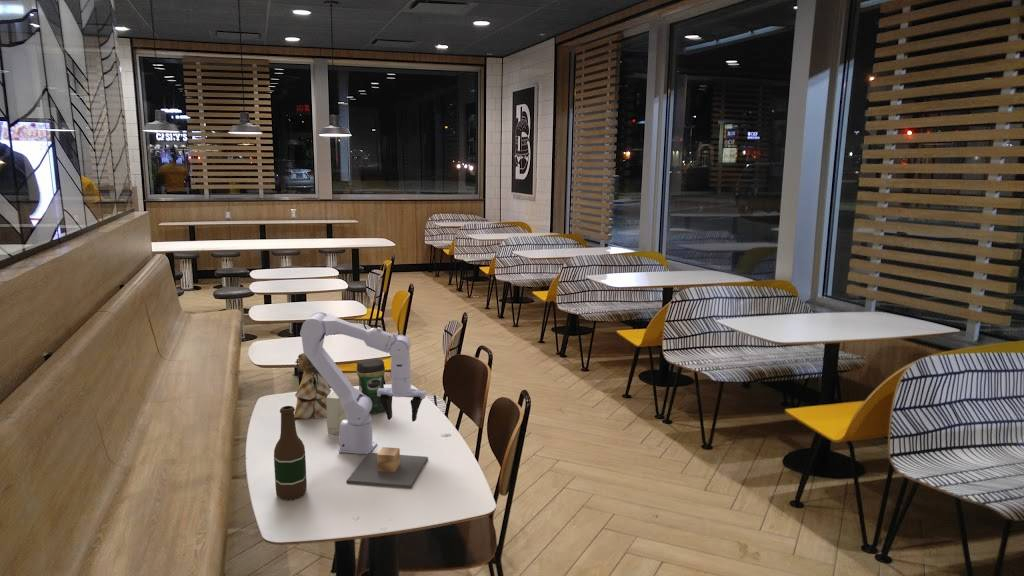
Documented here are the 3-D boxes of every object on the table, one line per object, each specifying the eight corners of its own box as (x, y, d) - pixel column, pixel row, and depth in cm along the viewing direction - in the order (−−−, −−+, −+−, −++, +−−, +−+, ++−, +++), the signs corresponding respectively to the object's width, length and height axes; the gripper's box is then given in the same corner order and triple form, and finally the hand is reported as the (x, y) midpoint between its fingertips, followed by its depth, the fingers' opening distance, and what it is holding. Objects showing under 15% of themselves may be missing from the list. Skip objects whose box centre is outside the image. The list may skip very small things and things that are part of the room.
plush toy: (348, 406, 239) (330, 338, 235) (328, 421, 226) (309, 350, 222) (313, 410, 243) (295, 344, 239) (292, 426, 230) (272, 356, 226)
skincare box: (339, 435, 217) (338, 398, 215) (326, 433, 218) (325, 397, 216) (348, 427, 223) (347, 392, 221) (335, 426, 224) (334, 391, 222)
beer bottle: (274, 489, 181) (270, 404, 176) (305, 484, 184) (301, 400, 180) (277, 503, 174) (272, 414, 169) (308, 498, 177) (304, 410, 173)
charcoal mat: (346, 483, 185) (346, 480, 185) (368, 455, 203) (368, 452, 203) (410, 488, 183) (410, 485, 183) (427, 459, 201) (427, 456, 200)
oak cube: (377, 471, 191) (377, 454, 190) (383, 463, 196) (382, 447, 195) (394, 472, 190) (394, 455, 189) (399, 464, 195) (399, 448, 194)
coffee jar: (382, 404, 244) (380, 354, 240) (388, 412, 237) (387, 360, 234) (355, 408, 240) (353, 358, 236) (361, 416, 233) (359, 364, 229)
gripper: (372, 379, 201) (374, 422, 203) (420, 382, 198) (421, 426, 201) (381, 372, 207) (382, 414, 210) (427, 374, 205) (428, 417, 208)
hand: (402, 419), depth 206 cm, fingers open, 7 cm apart
